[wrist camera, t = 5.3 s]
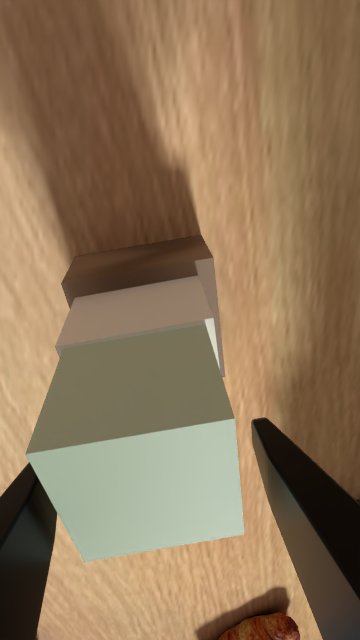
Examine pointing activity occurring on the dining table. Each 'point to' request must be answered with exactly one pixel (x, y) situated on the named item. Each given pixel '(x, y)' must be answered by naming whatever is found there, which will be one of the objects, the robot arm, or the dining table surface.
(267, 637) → the croissant
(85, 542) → the sage block
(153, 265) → the walnut base block
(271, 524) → the dining table surface
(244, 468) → the dining table surface
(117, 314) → the cream middle block
